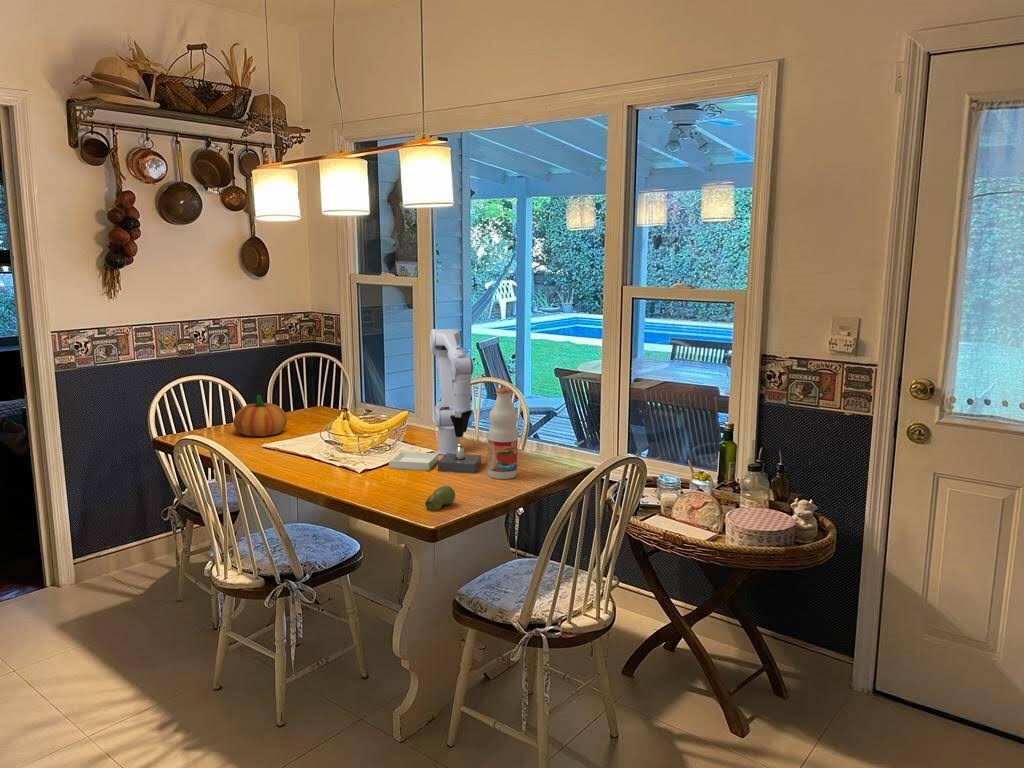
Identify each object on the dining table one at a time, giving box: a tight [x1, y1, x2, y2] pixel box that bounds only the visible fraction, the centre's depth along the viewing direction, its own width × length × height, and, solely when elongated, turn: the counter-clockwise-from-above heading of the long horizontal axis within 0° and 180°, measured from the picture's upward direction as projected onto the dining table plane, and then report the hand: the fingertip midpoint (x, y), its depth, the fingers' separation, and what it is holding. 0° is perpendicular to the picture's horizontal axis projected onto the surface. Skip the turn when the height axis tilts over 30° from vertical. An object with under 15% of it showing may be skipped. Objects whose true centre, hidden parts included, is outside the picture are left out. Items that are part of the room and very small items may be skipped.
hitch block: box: [437, 453, 482, 474], centre depth 256 cm, size 12×12×3 cm
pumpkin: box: [233, 394, 288, 438], centre depth 297 cm, size 19×19×15 cm
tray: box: [388, 450, 439, 472], centre depth 258 cm, size 13×13×3 cm
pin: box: [457, 442, 465, 460], centre depth 256 cm, size 2×2×8 cm
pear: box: [424, 485, 456, 511], centre depth 216 cm, size 6×5×10 cm
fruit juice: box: [486, 387, 519, 480], centre depth 246 cm, size 9×9×28 cm
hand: (461, 434), depth 259 cm, fingers open, 7 cm apart
